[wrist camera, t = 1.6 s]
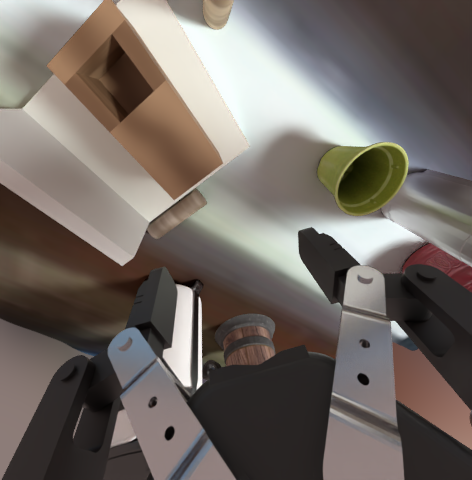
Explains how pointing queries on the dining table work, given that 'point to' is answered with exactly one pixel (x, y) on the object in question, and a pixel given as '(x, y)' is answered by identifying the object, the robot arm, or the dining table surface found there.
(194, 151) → the wooden square-hole block
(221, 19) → the dowel
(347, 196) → the plant pot
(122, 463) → the coffee press
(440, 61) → the dining table surface
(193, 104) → the l-shaped bookend
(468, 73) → the dining table surface
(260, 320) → the tankard
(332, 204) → the dining table surface
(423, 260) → the canister
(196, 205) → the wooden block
